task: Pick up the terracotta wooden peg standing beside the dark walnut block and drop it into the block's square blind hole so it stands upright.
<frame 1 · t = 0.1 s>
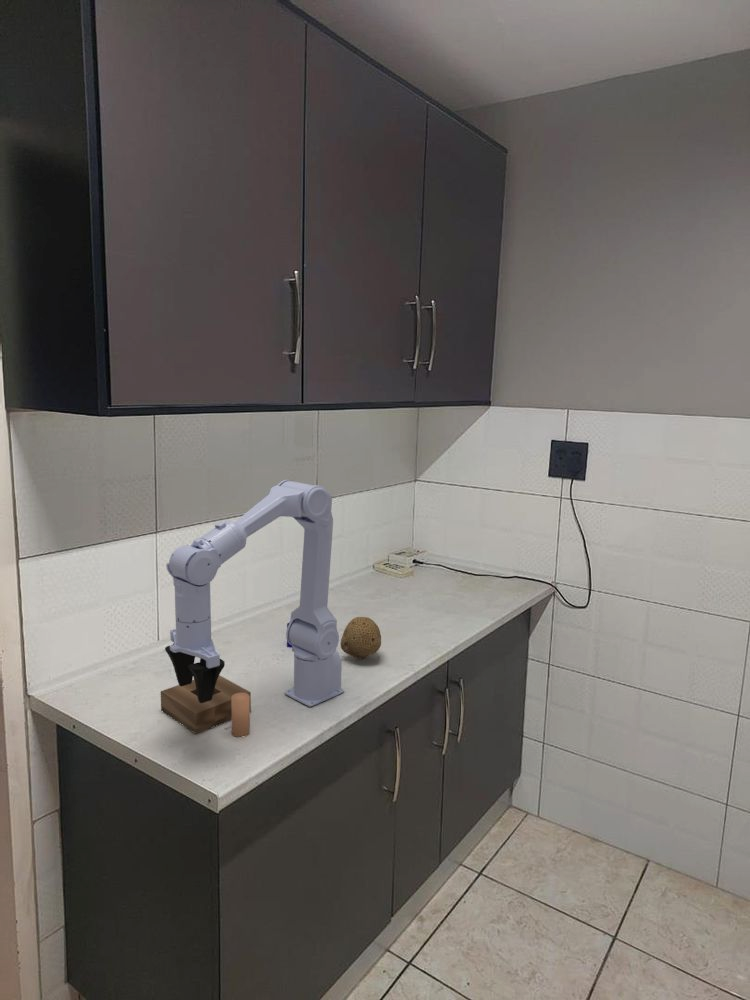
hand: (195, 692, 117), 10 cm above the worktop, tool pointing down, fingers open, 7 cm apart
walnut socket block: (206, 711, 131), on the worktop
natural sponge: (362, 660, 157), on the worktop
terracotta peg: (240, 732, 124), on the worktop
cable clip: (301, 640, 168), on the worktop
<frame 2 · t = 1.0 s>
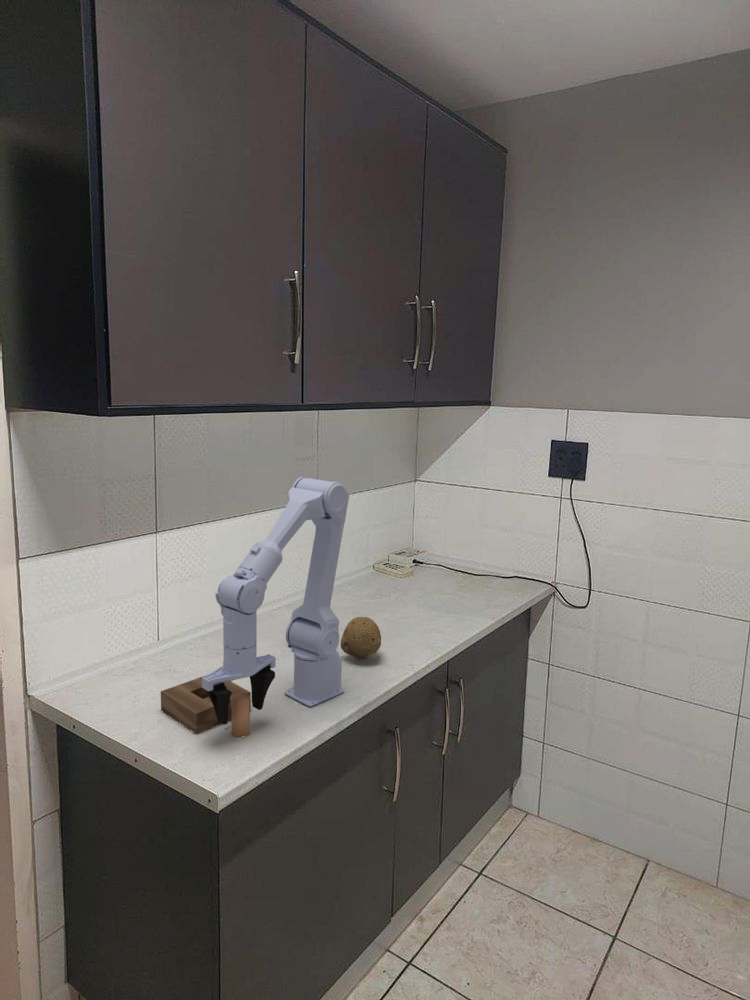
hand: (240, 714, 123), 3 cm above the worktop, tool pointing down, fingers open, 7 cm apart
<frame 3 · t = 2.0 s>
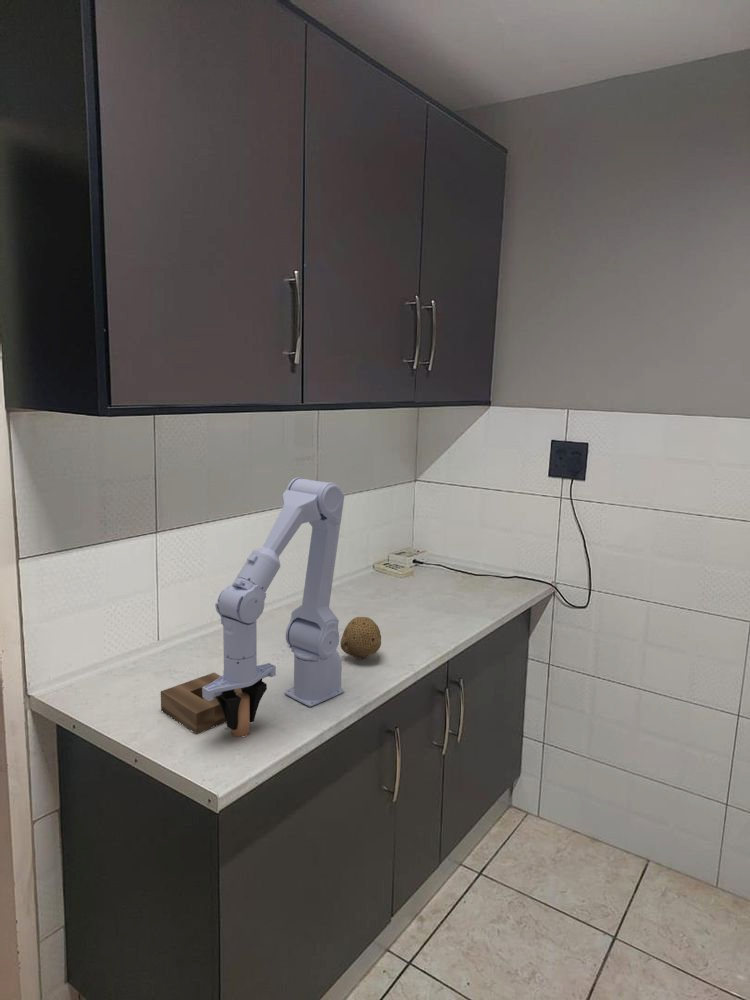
hand: (240, 723, 123), 2 cm above the worktop, tool pointing down, fingers closed on terracotta peg, 3 cm apart
terracotta peg: (240, 732, 124), on the worktop, touching gripper
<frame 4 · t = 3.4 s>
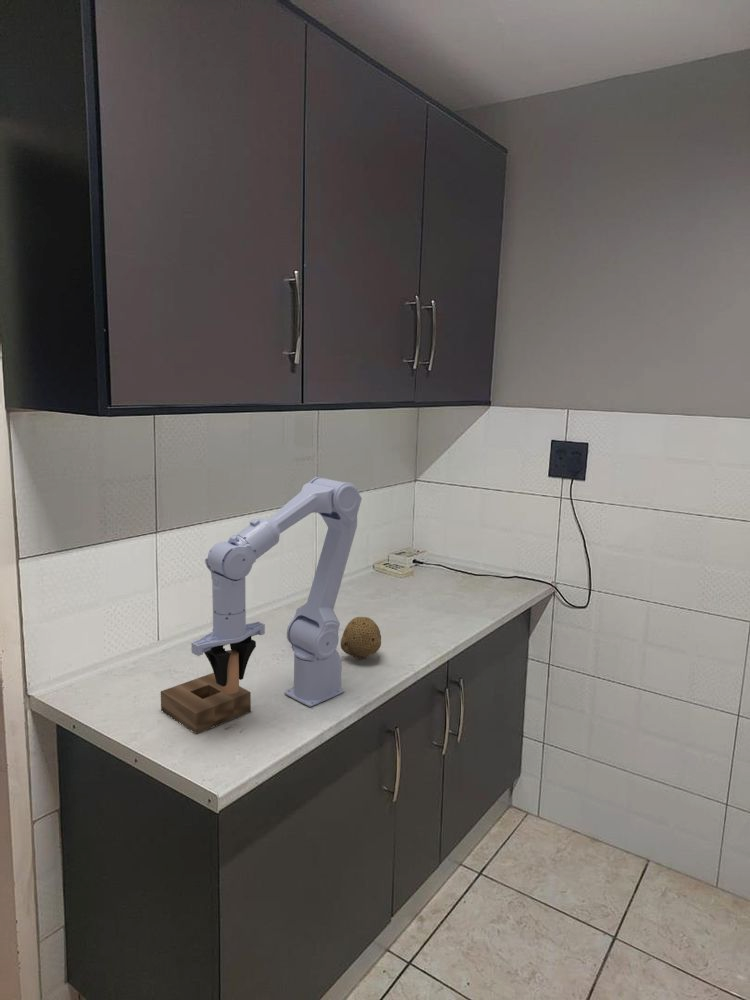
hand: (230, 681, 124), 9 cm above the worktop, tool pointing down, fingers closed on terracotta peg, 3 cm apart
terracotta peg: (230, 690, 124), point 7 cm above the worktop, touching gripper
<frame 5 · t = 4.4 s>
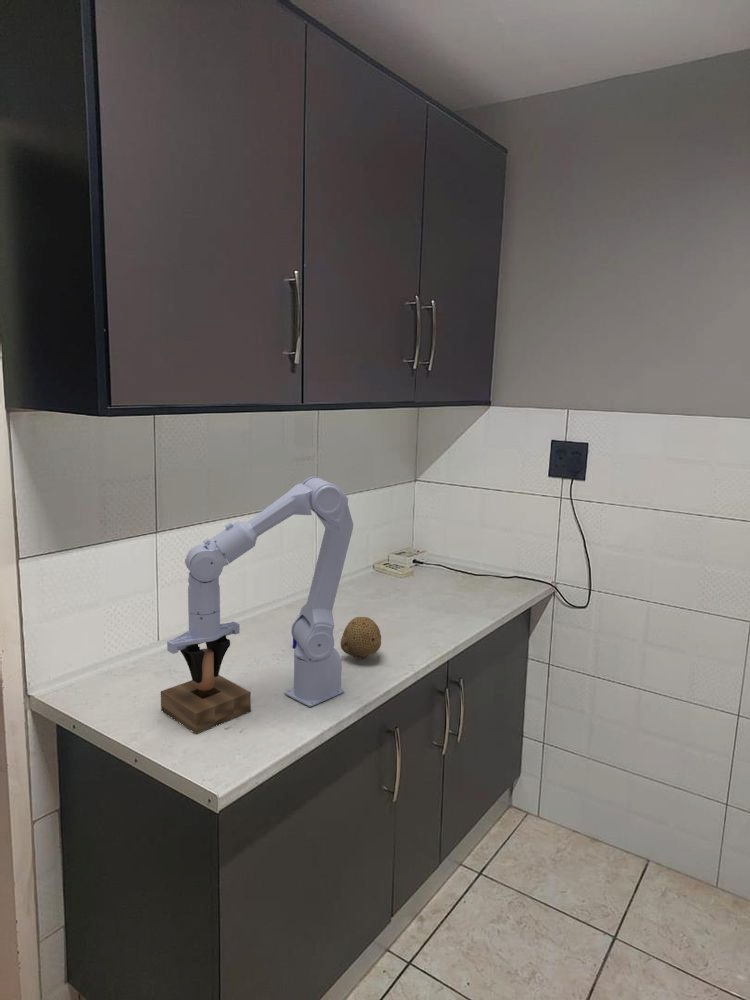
hand: (205, 678, 130), 7 cm above the worktop, tool pointing down, fingers closed on terracotta peg, 3 cm apart
terracotta peg: (205, 686, 130), point 5 cm above the worktop, touching gripper
when the fingers open (5 cm above the worktop, at t = 5.2 s): terracotta peg drops 2 cm, resting on walnut socket block.
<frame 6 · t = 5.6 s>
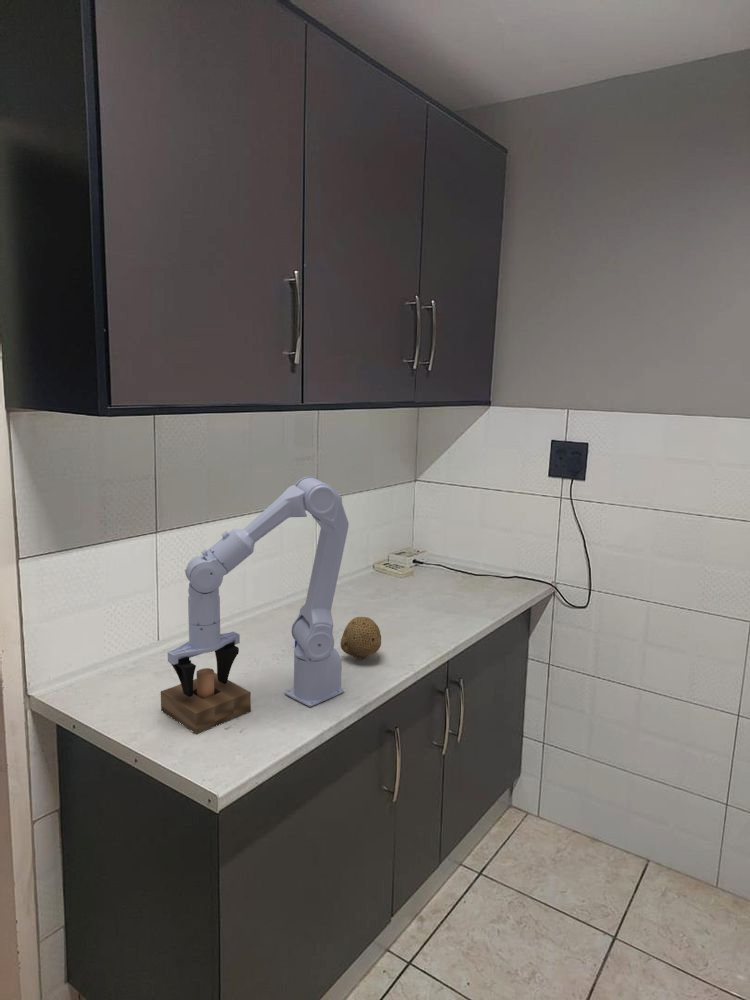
hand: (205, 688, 130), 5 cm above the worktop, tool pointing down, fingers open, 7 cm apart
terracotta peg: (206, 706, 131), point 1 cm above the worktop, touching walnut socket block
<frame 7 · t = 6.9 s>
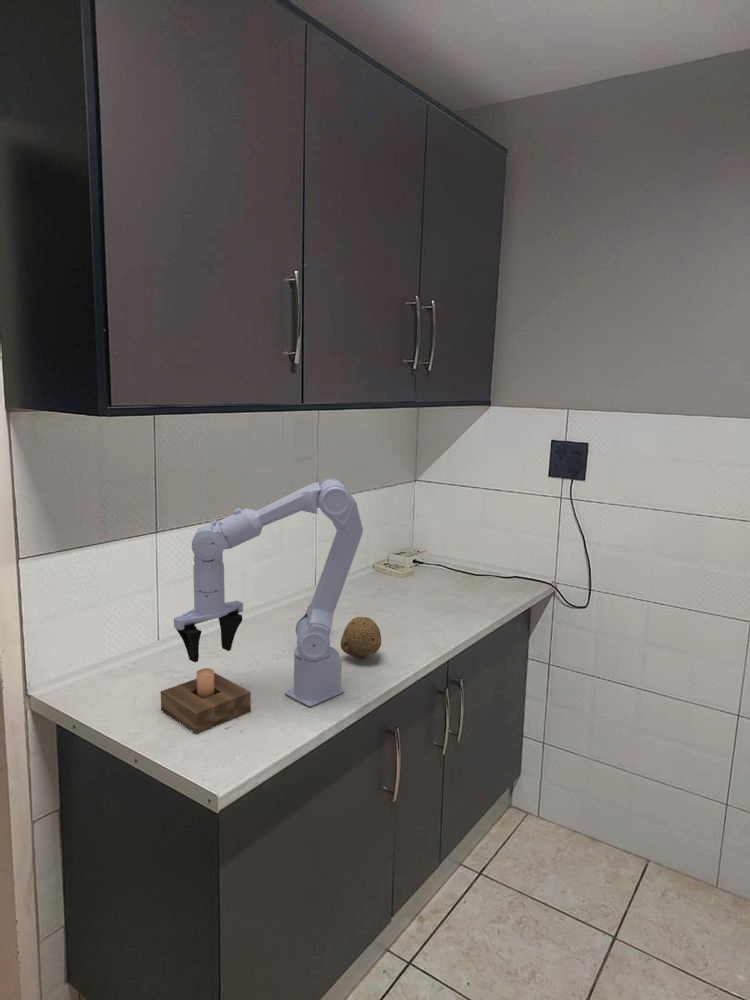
hand: (210, 654, 134), 9 cm above the worktop, tool pointing down, fingers open, 7 cm apart
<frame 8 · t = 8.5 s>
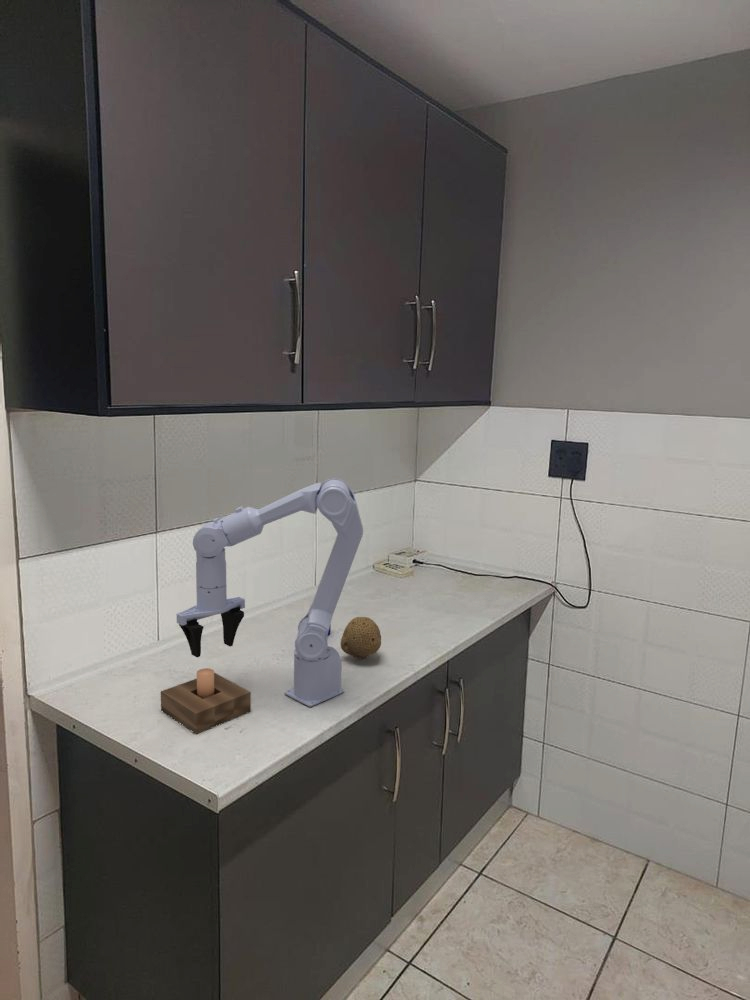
hand: (212, 650, 136), 9 cm above the worktop, tool pointing down, fingers open, 7 cm apart
at the end: terracotta peg 0.0 cm off-centre on the walnut socket block, point 1.0 cm above the walnut socket block's base; terracotta peg tilted 0°; the gripper is holding nothing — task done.
